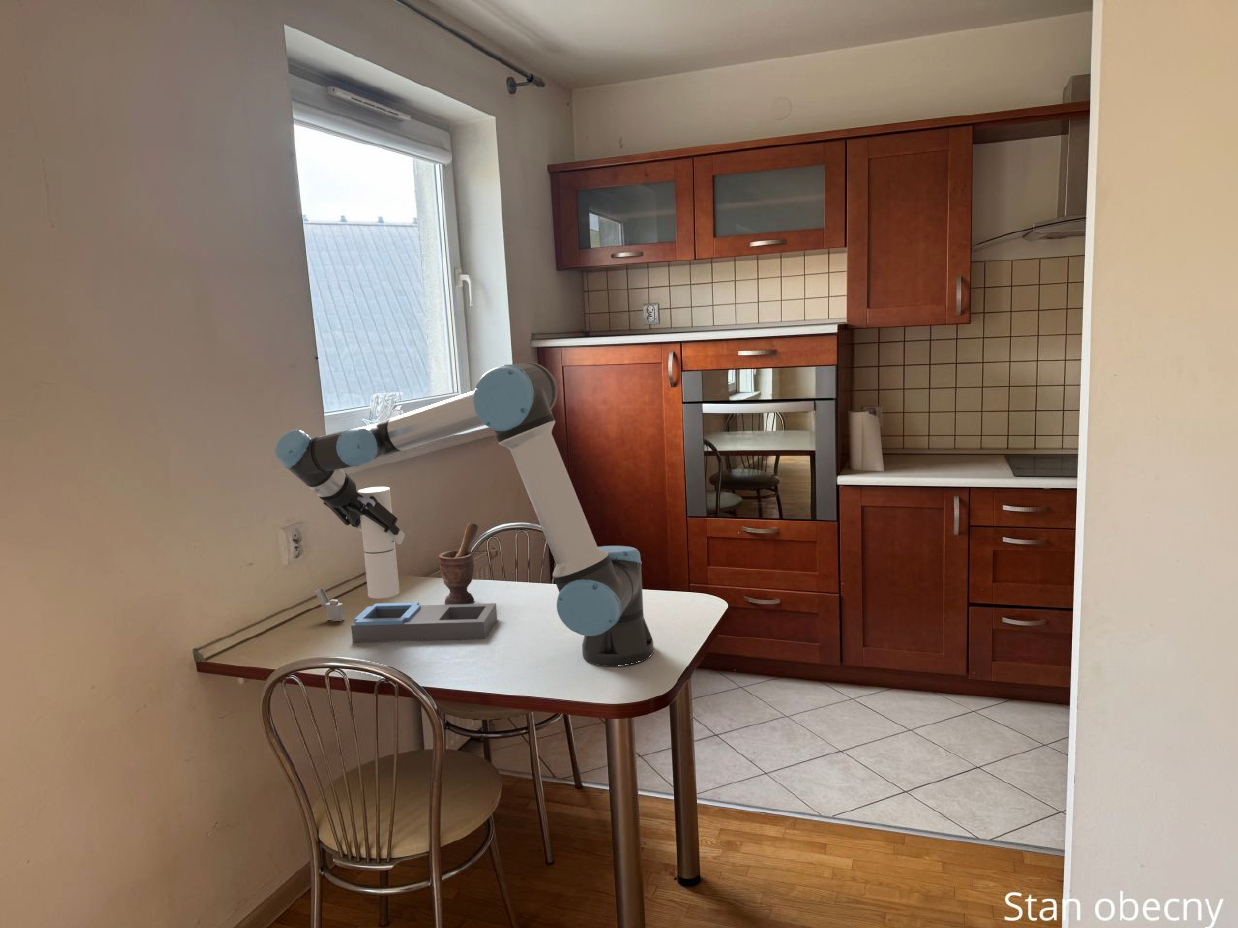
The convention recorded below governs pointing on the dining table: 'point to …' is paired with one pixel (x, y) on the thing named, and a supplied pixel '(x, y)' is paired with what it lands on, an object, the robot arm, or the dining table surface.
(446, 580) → the mortar and pestle
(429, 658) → the dining table surface
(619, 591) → the robot arm
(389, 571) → the cylindrical container
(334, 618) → the lighter
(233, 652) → the dining table surface
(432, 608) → the socket rack
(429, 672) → the dining table surface
